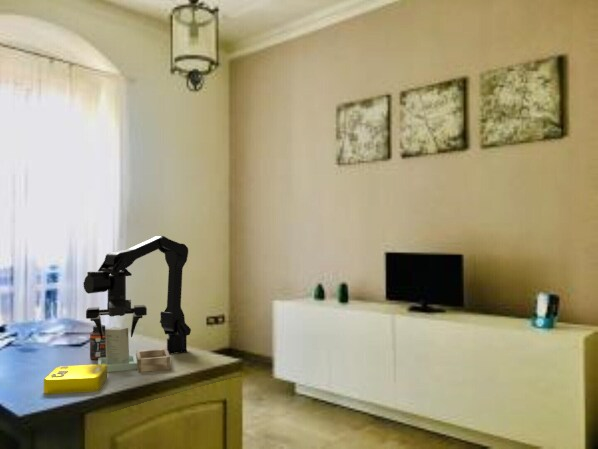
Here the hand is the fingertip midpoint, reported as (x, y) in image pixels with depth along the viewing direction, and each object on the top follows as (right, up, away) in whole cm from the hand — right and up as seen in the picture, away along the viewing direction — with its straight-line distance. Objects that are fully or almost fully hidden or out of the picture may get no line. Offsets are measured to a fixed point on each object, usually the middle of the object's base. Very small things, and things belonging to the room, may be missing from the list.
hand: (116, 337), depth 175 cm
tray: (0, -9, 0) cm, 9 cm away
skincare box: (0, -9, 0) cm, 9 cm away
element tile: (-5, -10, -20) cm, 23 cm away
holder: (+12, -9, 0) cm, 15 cm away
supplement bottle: (-10, -10, +11) cm, 18 cm away
